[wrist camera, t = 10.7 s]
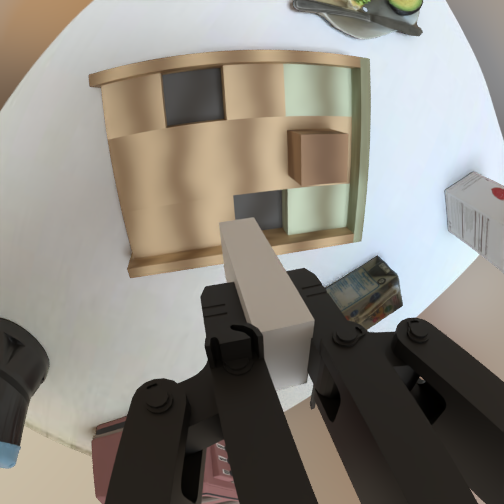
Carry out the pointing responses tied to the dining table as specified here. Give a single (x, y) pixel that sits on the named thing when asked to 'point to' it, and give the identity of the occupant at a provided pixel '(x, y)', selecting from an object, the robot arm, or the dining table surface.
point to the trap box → (232, 151)
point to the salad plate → (367, 15)
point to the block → (317, 156)
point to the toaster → (215, 475)
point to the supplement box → (478, 216)
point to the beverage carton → (368, 293)
